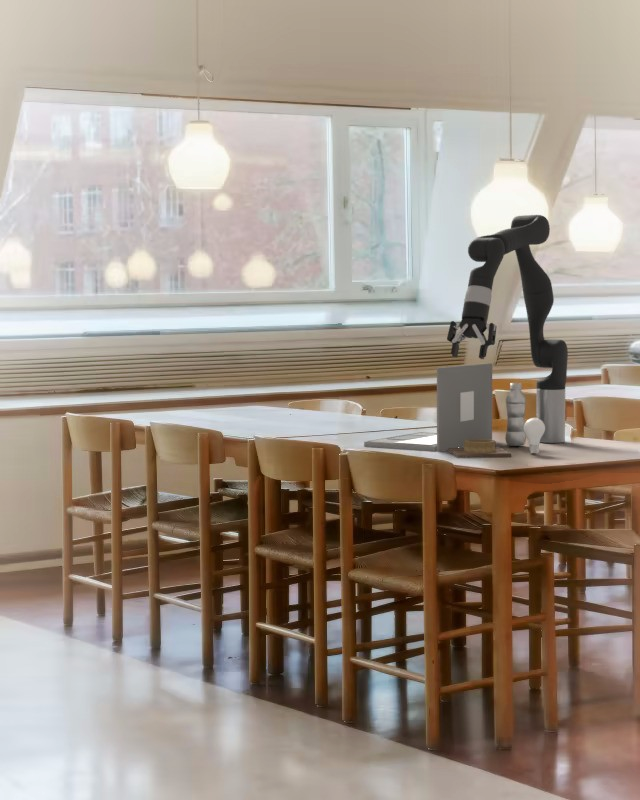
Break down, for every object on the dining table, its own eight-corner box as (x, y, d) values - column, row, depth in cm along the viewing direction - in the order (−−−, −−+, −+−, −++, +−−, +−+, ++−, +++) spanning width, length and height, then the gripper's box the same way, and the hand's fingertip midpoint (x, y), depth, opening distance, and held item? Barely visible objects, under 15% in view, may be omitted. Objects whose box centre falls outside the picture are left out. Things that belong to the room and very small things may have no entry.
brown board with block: (448, 451, 398) (448, 438, 398) (500, 450, 399) (500, 437, 399) (457, 457, 382) (457, 444, 382) (511, 456, 383) (511, 443, 383)
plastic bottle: (523, 445, 414) (524, 382, 413) (527, 447, 407) (528, 383, 406) (503, 445, 414) (503, 382, 412) (507, 447, 407) (507, 384, 406)
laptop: (420, 437, 442) (420, 361, 440) (492, 442, 426) (493, 362, 424) (364, 447, 414) (363, 365, 412) (439, 452, 398) (439, 367, 396)
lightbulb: (530, 456, 385) (531, 419, 384) (519, 453, 391) (519, 417, 390) (549, 455, 387) (549, 418, 387) (537, 452, 393) (537, 416, 392)
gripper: (504, 308, 378) (495, 362, 375) (460, 306, 385) (451, 359, 383) (494, 301, 371) (484, 355, 369) (449, 299, 379) (440, 353, 377)
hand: (467, 357), depth 376 cm, fingers open, 8 cm apart
